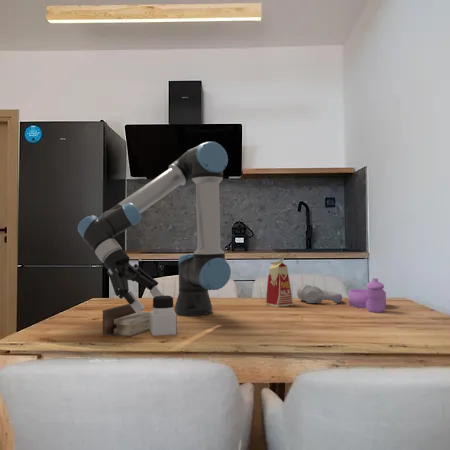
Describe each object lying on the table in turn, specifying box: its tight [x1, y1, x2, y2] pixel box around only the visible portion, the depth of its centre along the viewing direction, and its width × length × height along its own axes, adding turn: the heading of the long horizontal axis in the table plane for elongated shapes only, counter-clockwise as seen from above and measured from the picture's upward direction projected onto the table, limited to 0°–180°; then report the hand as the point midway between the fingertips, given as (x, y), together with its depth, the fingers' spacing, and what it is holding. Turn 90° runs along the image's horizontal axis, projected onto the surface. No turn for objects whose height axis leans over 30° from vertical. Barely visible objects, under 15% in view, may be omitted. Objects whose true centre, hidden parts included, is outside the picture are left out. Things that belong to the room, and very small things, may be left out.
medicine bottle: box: [149, 294, 178, 337], centre depth 123 cm, size 7×7×12 cm
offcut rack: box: [102, 303, 150, 338], centre depth 126 cm, size 10×18×8 cm, turn 159°
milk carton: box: [265, 259, 294, 308], centre depth 181 cm, size 9×9×20 cm
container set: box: [348, 278, 387, 313], centre depth 173 cm, size 25×15×13 cm, turn 174°
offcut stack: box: [114, 311, 150, 335], centre depth 126 cm, size 6×14×4 cm, turn 159°
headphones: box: [296, 284, 343, 304], centre depth 190 cm, size 18×8×20 cm
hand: (153, 307), depth 123 cm, fingers open, 13 cm apart
